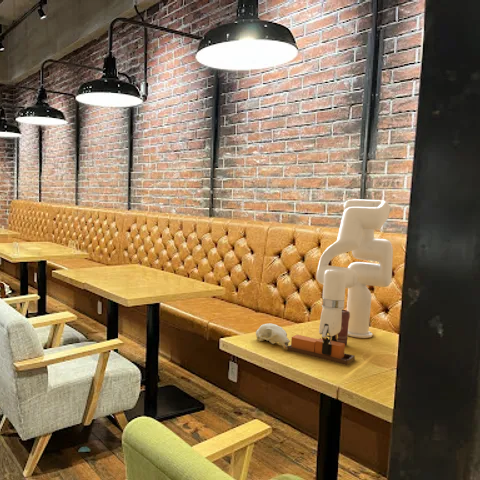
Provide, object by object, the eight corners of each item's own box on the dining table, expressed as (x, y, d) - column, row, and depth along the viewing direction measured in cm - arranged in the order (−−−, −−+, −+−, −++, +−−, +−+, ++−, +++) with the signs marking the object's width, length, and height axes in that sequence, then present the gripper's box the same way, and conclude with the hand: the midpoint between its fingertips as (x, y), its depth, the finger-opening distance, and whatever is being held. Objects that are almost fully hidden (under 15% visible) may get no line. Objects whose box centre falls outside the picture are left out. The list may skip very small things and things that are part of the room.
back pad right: (319, 351, 181) (320, 338, 181) (343, 356, 175) (345, 343, 175) (314, 354, 177) (315, 340, 177) (339, 360, 172) (340, 346, 171)
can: (348, 347, 190) (351, 312, 189) (331, 346, 192) (334, 311, 190) (346, 343, 196) (348, 309, 195) (329, 341, 198) (332, 308, 196)
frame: (296, 347, 189) (296, 342, 189) (354, 361, 175) (354, 355, 175) (287, 351, 182) (287, 346, 182) (346, 366, 168) (347, 361, 168)
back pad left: (296, 347, 187) (297, 334, 187) (319, 352, 181) (319, 339, 181) (290, 349, 183) (291, 337, 183) (313, 355, 178) (314, 342, 177)
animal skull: (273, 352, 180) (270, 325, 182) (253, 349, 196) (250, 324, 197) (297, 349, 183) (294, 322, 185) (276, 346, 199) (273, 321, 200)
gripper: (331, 298, 184) (327, 345, 185) (313, 305, 171) (310, 355, 172) (351, 302, 179) (347, 350, 181) (335, 308, 166) (331, 360, 167)
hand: (329, 352), depth 176 cm, fingers closed on back pad right, 4 cm apart
